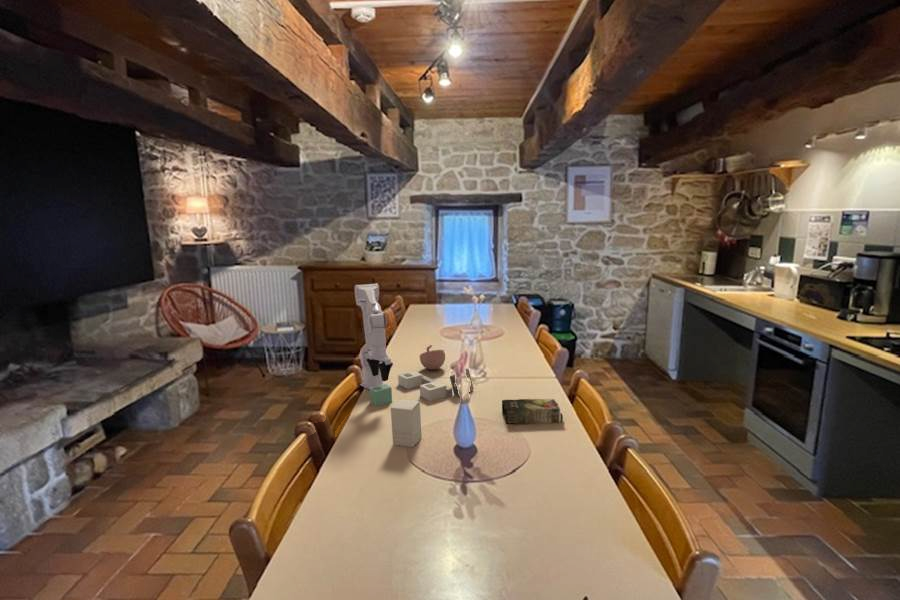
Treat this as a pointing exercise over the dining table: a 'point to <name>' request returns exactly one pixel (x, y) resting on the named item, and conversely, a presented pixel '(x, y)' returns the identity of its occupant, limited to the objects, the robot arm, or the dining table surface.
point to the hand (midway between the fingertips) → (380, 378)
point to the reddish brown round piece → (432, 358)
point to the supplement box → (406, 422)
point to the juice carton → (531, 411)
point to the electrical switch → (455, 384)
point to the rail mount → (424, 385)
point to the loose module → (380, 394)
